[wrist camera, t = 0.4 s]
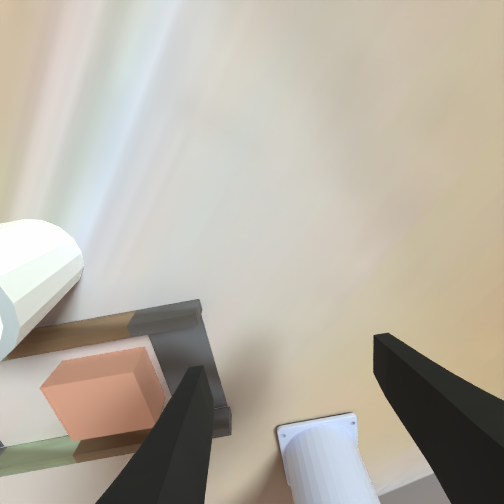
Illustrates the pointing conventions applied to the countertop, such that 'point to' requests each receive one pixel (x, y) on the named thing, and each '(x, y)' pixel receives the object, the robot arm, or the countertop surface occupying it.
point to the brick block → (105, 394)
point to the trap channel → (110, 329)
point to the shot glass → (33, 275)
